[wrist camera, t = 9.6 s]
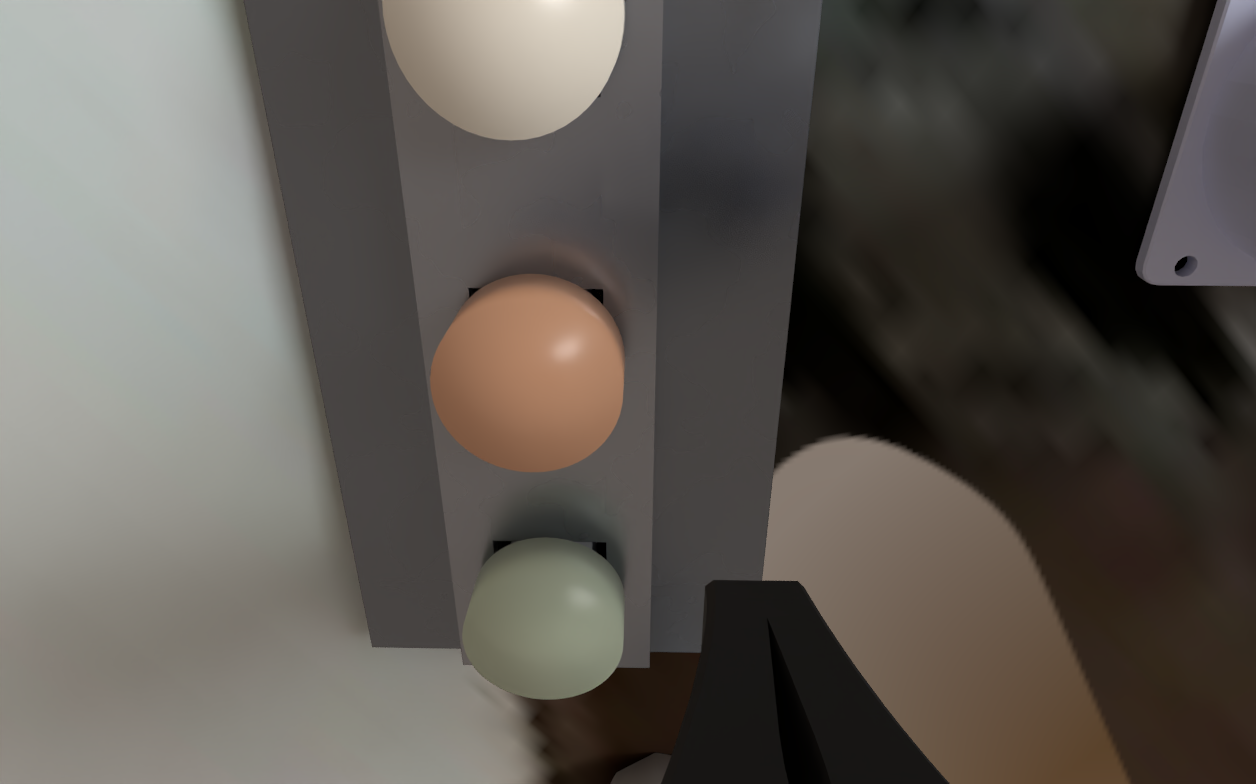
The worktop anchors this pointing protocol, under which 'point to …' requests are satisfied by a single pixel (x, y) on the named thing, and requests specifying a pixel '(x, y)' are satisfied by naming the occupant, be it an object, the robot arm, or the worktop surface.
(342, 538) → the worktop surface
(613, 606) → the sage knob
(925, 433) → the worktop surface
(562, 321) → the terracotta knob
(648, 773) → the salt shaker
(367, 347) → the switch panel
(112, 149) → the worktop surface
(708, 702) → the robot arm
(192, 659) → the worktop surface
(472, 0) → the cream knob
